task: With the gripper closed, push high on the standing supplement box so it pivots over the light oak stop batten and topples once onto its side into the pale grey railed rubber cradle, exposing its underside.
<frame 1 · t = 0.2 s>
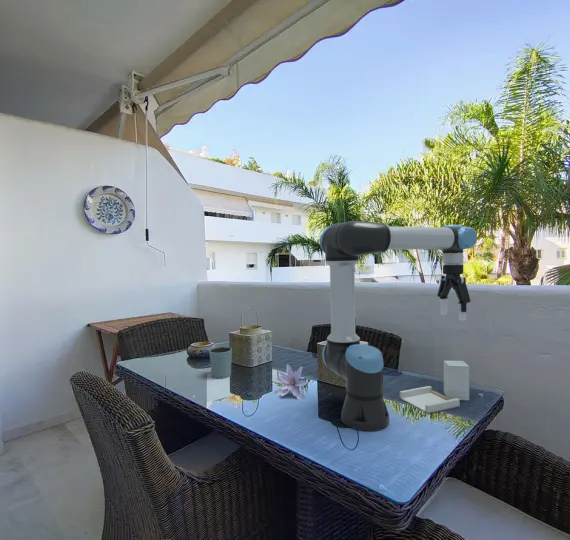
hand: (452, 317, 147), 28 cm above the table, fingers open, 13 cm apart
water lily: (290, 395, 142), on the table
grey-green cup: (221, 376, 165), on the table
supplement box: (456, 396, 137), on the table
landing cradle: (428, 402, 132), on the table
stop batten: (443, 399, 135), on the table
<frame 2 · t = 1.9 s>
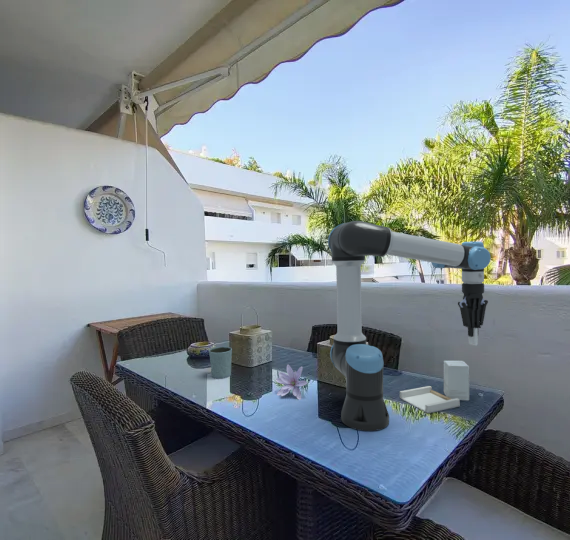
hand: (473, 344, 139), 19 cm above the table, fingers closed
nothing on the table moved.
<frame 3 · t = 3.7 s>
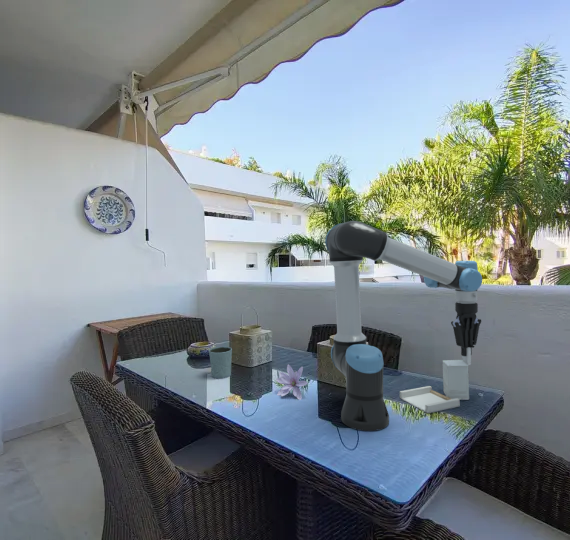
hand: (466, 364, 139), 12 cm above the table, fingers closed
supplement box: (456, 396, 137), on the table, touching gripper
everything else where it was.
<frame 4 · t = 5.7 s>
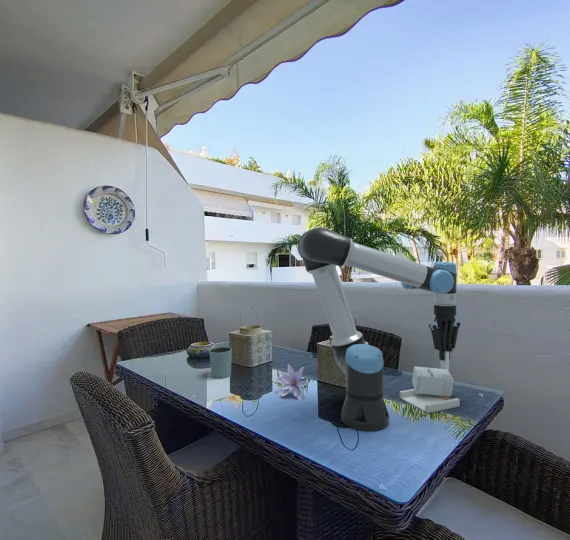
hand: (444, 368, 135), 11 cm above the table, fingers closed
supplement box: (450, 382, 137), point 5 cm above the table, touching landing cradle, stop batten
everything else where it was.
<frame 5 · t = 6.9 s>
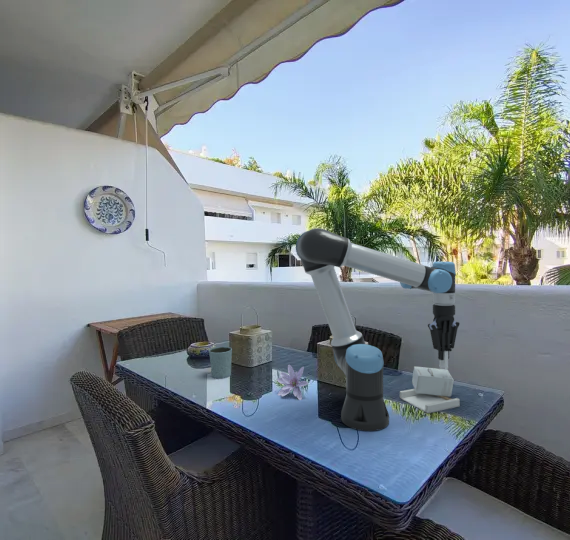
hand: (443, 368, 134), 11 cm above the table, fingers closed
nothing on the table moved.
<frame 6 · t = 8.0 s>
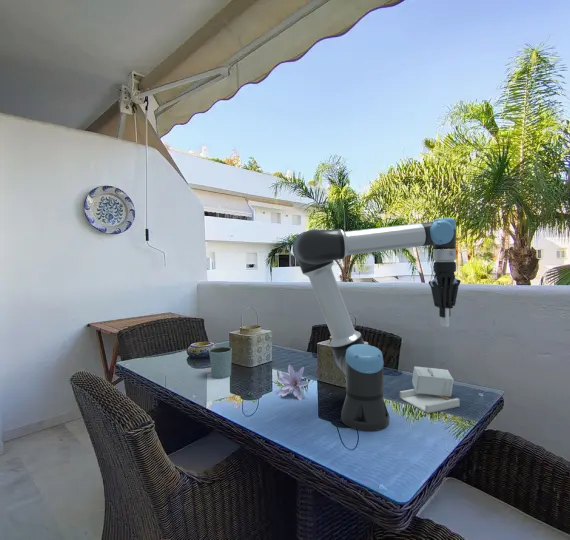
hand: (444, 325, 134), 27 cm above the table, fingers closed
nothing on the table moved.
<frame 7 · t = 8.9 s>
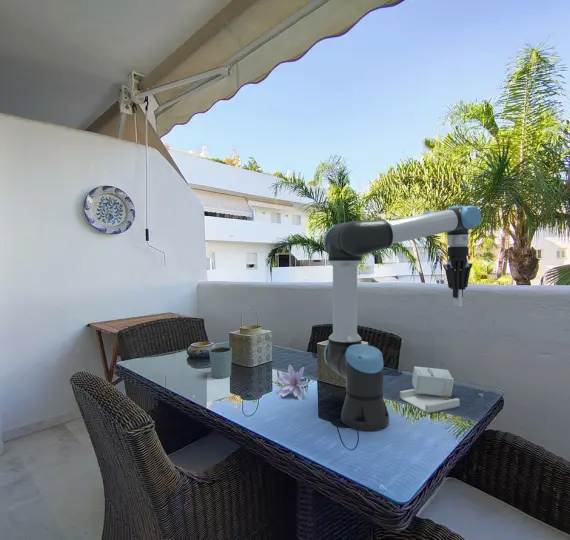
hand: (457, 305, 145), 32 cm above the table, fingers closed
nothing on the table moved.
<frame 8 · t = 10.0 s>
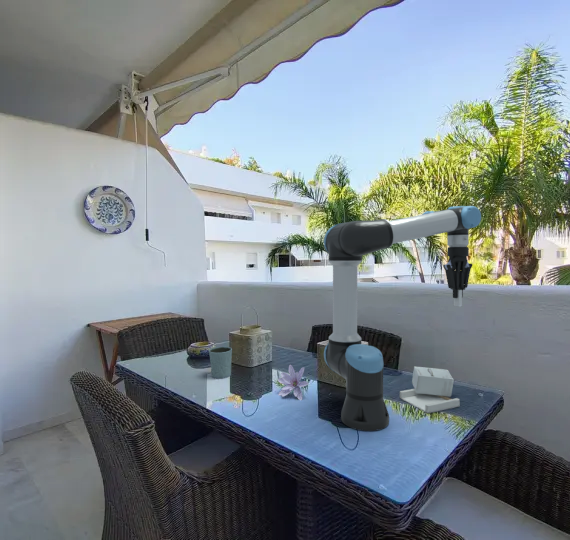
hand: (457, 306, 145), 32 cm above the table, fingers closed
nothing on the table moved.
at the end: supplement box tilted 85°; supplement box inside the target area (6.8 cm from its centre), point 5.2 cm above the table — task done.
